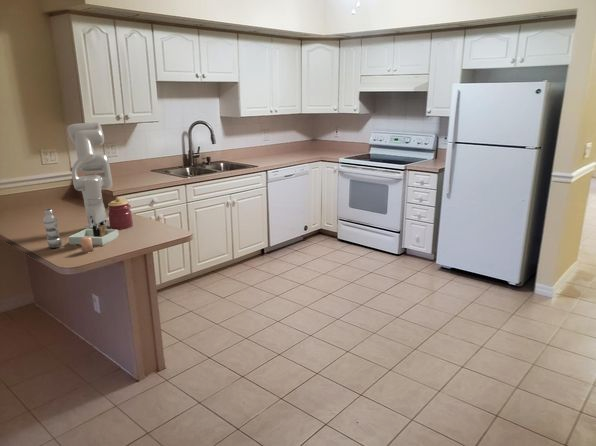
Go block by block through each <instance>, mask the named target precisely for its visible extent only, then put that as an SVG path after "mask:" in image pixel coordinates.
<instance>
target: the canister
mask: <svg viewBox="0 0 596 446" xmlns="http://www.w3.org/2000/svg"><path fill="white" fill-rule="evenodd" d="M129 203H130V202H129V201H127V200H126V199H121V198H120V197H118V196H117V197H116V198H115V200H112V201H110V202H109V203H108V204H107V205H108V207H107V208H106V209H107V211H108V213H107V217H108V218H109V220H108V221H109V223H108V224H109V227H110V230H125V229H128V228H129V229H130V228H132V227H133V226H134V221H133V215H132V210H131V205H130V204H129Z"/></svg>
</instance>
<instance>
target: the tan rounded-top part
mask: <svg viewBox="0 0 596 446" xmlns="http://www.w3.org/2000/svg"><path fill="white" fill-rule="evenodd" d="M80 241H81V245H80V246H81V250H82V251H81V252H82V254H89V253H88V252H91V253H93V252H94V245H92V239H91V237H83V238H81V239H80ZM92 251H93V252H92Z"/></svg>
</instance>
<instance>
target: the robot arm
mask: <svg viewBox="0 0 596 446" xmlns="http://www.w3.org/2000/svg"><path fill="white" fill-rule="evenodd" d="M67 133H68V136H69V139H70V141H71V142H72V144H73V145H74V147H75V150H76V151H75V152H76V156H77V157H76V158H77V160H76V161H75V162H74V163H73V165H72V169H71V179H72V183H73V187H74V189H75V190H76V191H78V192H81V194H82V198H83V203H84V210H85V215H86V221H87V226H85V229H92V230H93V232H94V236H95V237H100V232H99V229H98V225H106V227H107V228H108V227H110V225H109V224H110V223H108V221H109V216H107V213H106V207H105V204H104V202H103V201H104V199H103V196H102V195H103V194H102V190H109V189H112V188H113V186H114V185H113V176H112V172H111V171H112V169H111V167H110V161H109V157H108V156H107V155H106V154H104V153H102V154H101V153H99V154H98V153H97V154H96V153H95V148H94V146H102V145H103V144H105V135H104V132H103V127H102V125H101V124H100V123H99V122H85V123H84V122H82V123H81V122H80V123H72V124H69V125H68V126H67ZM79 170H80V171H81V172H82V173H88V174H84V175H81V176H79V175H78V172H79ZM91 172H93V173H91ZM94 172H98V173H94Z"/></svg>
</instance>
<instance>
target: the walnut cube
mask: <svg viewBox="0 0 596 446" xmlns="http://www.w3.org/2000/svg"><path fill="white" fill-rule="evenodd" d="M98 229H99V232H100V237H103V236H105V235H107V234H108V233H107V229H108V227H106V225H98ZM93 236H94V232H93ZM94 237H95V236H94Z"/></svg>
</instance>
